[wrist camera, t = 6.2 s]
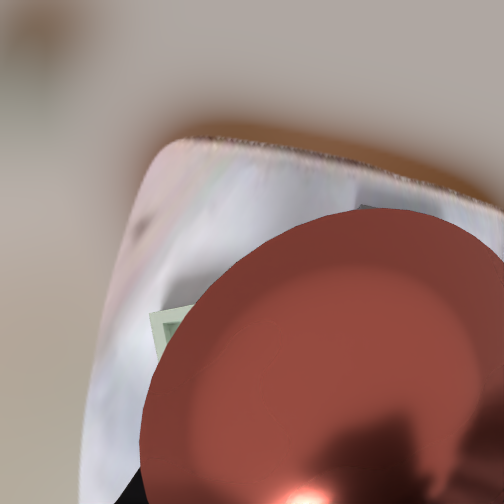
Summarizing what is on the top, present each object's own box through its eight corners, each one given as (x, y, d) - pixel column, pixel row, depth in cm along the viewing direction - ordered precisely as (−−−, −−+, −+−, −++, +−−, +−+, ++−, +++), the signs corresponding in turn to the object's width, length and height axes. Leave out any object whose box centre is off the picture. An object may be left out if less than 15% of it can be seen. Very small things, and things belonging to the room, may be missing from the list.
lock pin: (324, 348, 17) (570, 313, 3) (287, 420, 16) (427, 608, 1) (251, 311, 17) (288, 134, 3) (212, 384, 16) (75, 524, 2)
